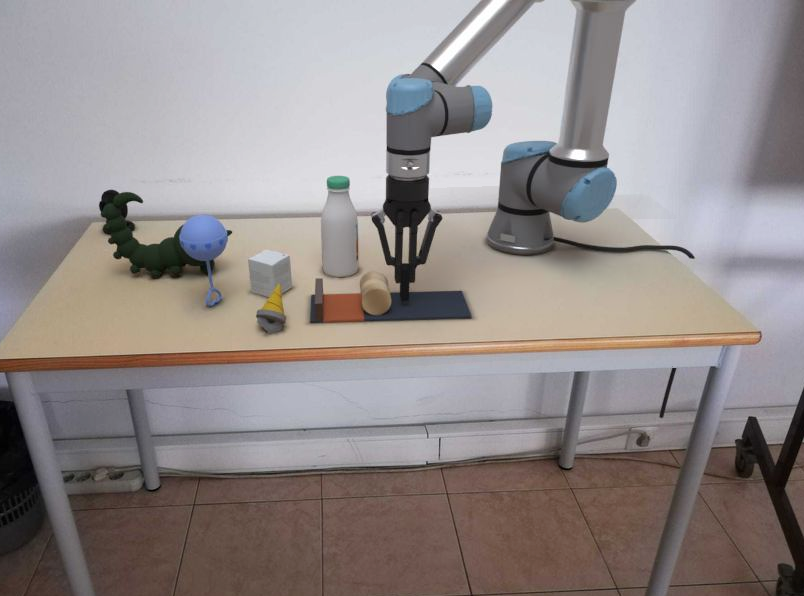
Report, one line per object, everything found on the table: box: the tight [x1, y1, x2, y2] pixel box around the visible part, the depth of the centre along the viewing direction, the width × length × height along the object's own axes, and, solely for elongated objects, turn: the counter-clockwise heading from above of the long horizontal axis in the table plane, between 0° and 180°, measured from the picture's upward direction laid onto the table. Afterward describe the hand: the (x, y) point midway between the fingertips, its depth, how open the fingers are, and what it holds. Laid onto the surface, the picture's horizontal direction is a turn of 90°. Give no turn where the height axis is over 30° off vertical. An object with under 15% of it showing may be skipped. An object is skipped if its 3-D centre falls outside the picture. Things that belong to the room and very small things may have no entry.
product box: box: [247, 249, 293, 298], centre depth 136 cm, size 6×6×7 cm
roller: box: [359, 270, 391, 315], centre depth 129 cm, size 6×8×6 cm
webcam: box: [98, 189, 136, 236], centre depth 165 cm, size 8×8×10 cm
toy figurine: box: [100, 191, 233, 279], centre depth 141 cm, size 9×19×25 cm
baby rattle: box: [179, 214, 229, 308], centre depth 127 cm, size 9×9×18 cm
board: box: [309, 277, 473, 324], centre depth 130 cm, size 30×11×4 cm, turn 93°
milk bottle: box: [320, 175, 360, 278], centre depth 141 cm, size 8×8×20 cm
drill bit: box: [255, 283, 287, 335], centre depth 123 cm, size 5×5×10 cm
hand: (404, 297), depth 130 cm, fingers closed
